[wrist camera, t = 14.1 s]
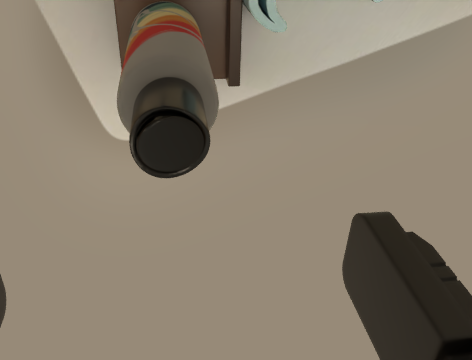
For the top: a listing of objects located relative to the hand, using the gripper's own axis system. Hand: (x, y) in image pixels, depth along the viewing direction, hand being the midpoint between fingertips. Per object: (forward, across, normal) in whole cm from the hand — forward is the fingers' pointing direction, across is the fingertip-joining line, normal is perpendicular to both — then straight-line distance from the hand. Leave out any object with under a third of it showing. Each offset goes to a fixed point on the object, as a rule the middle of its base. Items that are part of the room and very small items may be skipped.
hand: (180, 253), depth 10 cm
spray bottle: (+31, 0, +3) cm, 31 cm away
